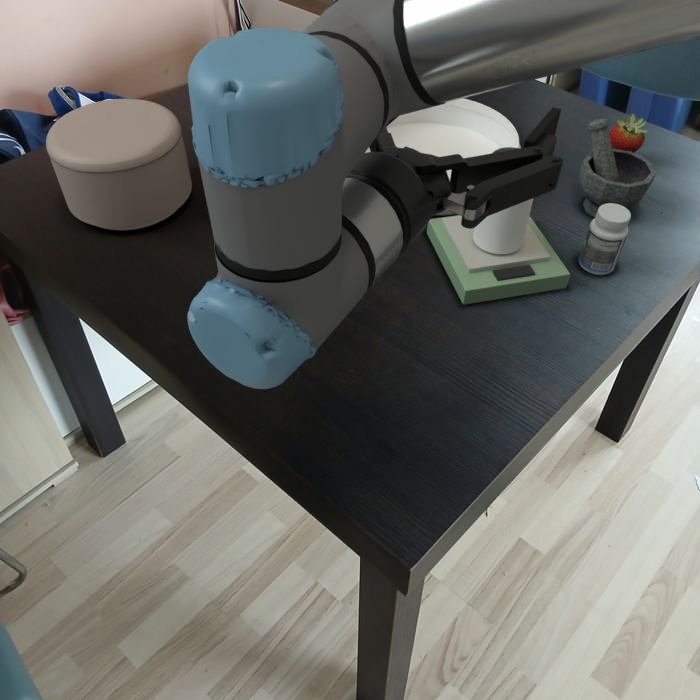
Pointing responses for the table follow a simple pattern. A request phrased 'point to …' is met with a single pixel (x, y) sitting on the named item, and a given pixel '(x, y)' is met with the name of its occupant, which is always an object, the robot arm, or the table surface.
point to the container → (120, 163)
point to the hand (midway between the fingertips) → (482, 102)
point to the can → (503, 227)
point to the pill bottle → (605, 239)
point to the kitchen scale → (495, 263)
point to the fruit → (628, 134)
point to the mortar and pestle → (612, 172)
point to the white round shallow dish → (454, 131)
